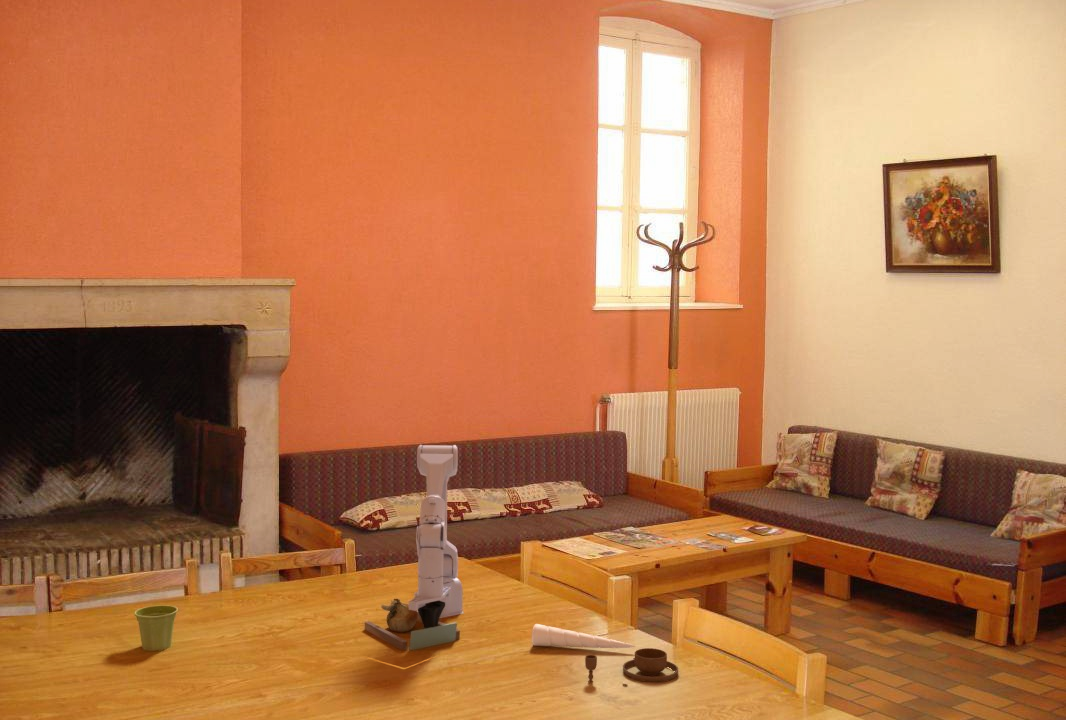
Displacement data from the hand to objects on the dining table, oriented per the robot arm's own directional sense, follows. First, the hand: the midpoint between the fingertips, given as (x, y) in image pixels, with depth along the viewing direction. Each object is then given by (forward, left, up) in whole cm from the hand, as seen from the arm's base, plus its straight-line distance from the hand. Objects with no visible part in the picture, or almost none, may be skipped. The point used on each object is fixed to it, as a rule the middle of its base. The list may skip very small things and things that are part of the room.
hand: (430, 633), depth 252 cm
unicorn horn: (-31, +23, -7) cm, 40 cm away
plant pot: (+52, -34, -3) cm, 62 cm away
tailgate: (0, +1, -3) cm, 3 cm away
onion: (0, -14, -3) cm, 14 cm away
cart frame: (0, -9, -3) cm, 9 cm away
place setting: (-27, +39, -4) cm, 48 cm away
